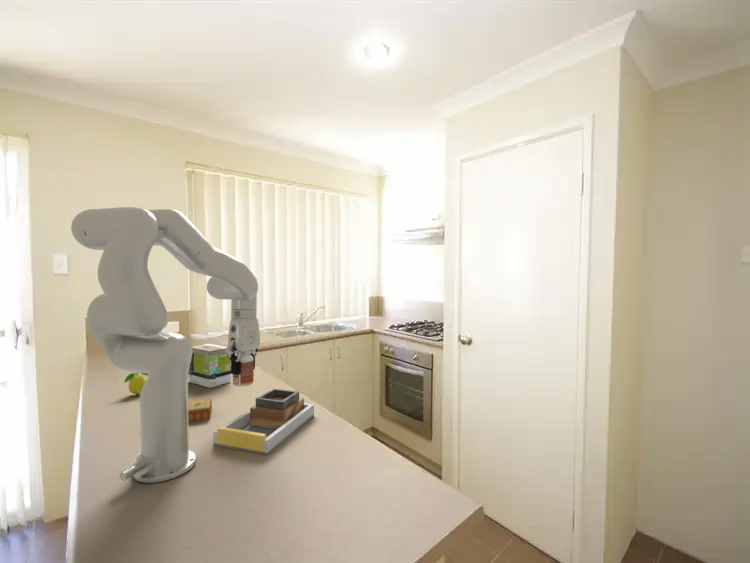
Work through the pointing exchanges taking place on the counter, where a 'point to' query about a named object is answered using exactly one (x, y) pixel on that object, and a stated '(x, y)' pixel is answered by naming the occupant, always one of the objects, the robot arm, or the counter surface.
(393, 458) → the counter surface
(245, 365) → the pill bottle
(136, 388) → the lemon
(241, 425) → the bay
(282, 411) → the box
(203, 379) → the tea box
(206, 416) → the carton
